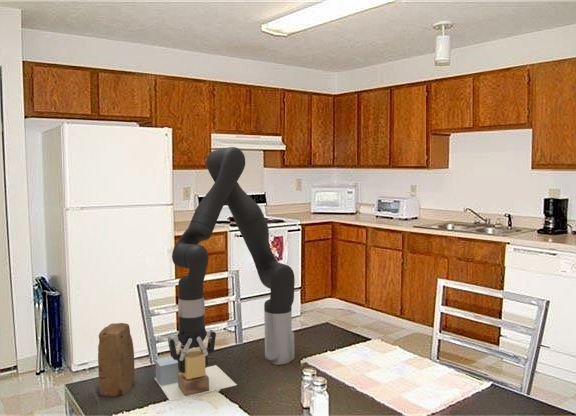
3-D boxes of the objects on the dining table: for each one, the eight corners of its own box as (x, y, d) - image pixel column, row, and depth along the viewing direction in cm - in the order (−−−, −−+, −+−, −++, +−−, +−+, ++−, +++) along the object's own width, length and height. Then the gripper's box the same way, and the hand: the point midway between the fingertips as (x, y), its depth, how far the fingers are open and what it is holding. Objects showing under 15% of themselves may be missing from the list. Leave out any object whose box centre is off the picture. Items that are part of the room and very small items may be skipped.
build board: (216, 368, 161) (216, 365, 161) (237, 388, 147) (237, 384, 146) (154, 382, 152) (154, 378, 152) (170, 405, 137) (170, 400, 137)
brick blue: (173, 375, 154) (173, 356, 153) (179, 381, 149) (178, 362, 148) (156, 379, 151) (155, 359, 151) (160, 385, 146) (160, 366, 146)
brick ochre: (199, 368, 148) (198, 349, 147) (205, 375, 143) (205, 355, 142) (181, 372, 145) (180, 352, 145) (186, 379, 140) (186, 358, 140)
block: (121, 401, 139) (119, 332, 138) (96, 400, 140) (93, 331, 139) (138, 384, 150) (136, 320, 148) (115, 383, 151) (112, 319, 149)
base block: (201, 381, 149) (200, 368, 149) (209, 390, 143) (208, 377, 142) (178, 386, 146) (177, 373, 145) (185, 396, 139) (185, 382, 139)
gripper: (210, 306, 149) (212, 360, 150) (163, 313, 142) (164, 370, 144) (219, 312, 143) (221, 369, 144) (170, 320, 136) (172, 379, 137)
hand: (193, 369), depth 144 cm, fingers open, 5 cm apart
